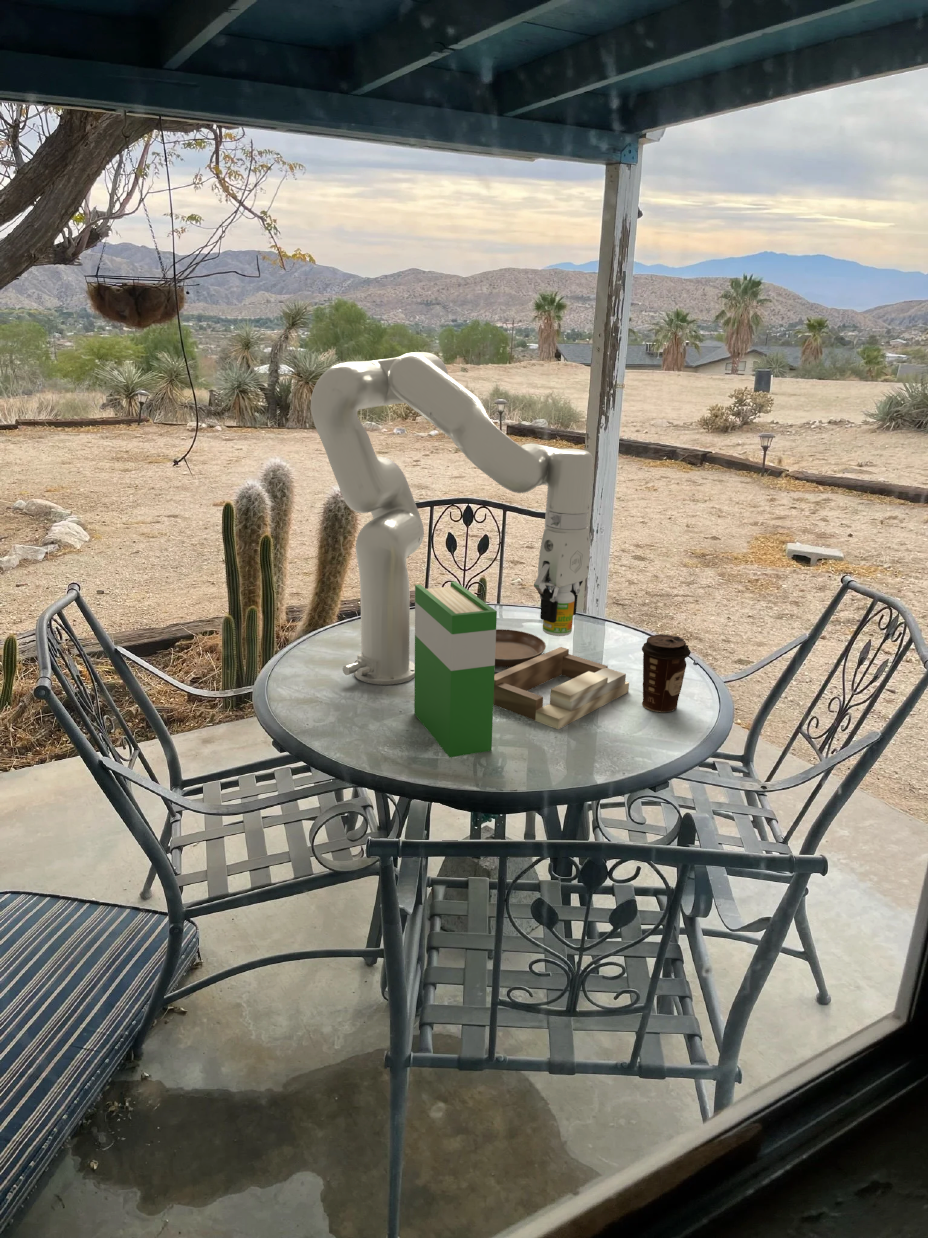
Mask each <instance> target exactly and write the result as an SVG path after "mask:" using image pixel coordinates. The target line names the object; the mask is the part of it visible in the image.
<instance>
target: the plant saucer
mask: <svg viewBox="0 0 928 1238" xmlns="http://www.w3.org/2000/svg"><path fill="white" fill-rule="evenodd" d="M546 648H547V645H546V643H545V641H544V640H543V639H542V638H541V637H539V636H536V635H535V634H532V633H529V632H525V631H522V630H521V631H520V630H516V629H515V630H514V629H507V628H506V629H505V628H504V629H502V628H500V629H499V628H498V629H497V628H496V647H495V668H511V667H514V666H516V665H518V664H521V663H523V662H526V661H528V660H530V659H533V658H535V657H538V656H540V655H542V654H544V652H545V650H546Z"/></svg>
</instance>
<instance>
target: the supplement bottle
mask: <svg viewBox="0 0 928 1238" xmlns="http://www.w3.org/2000/svg"><path fill="white" fill-rule="evenodd" d="M549 583H552V582H551V581H549ZM552 589H553V587H551V586H549V590H550V592H552ZM571 590H572V584H571V585H568V586H564V587H559V590H558V593H557V597H556V600H555V601H557V602H558V606H557V618H556V622H554V623H552V622H548V621H545V620H542V632H544V634H547V635H549V636H552V637H553V636H554V637H565V636H569V635H571V634H572V630H573V620H574V616H573V611H574V601H575V597H574V594H573V593H571V592H570V591H571Z"/></svg>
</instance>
